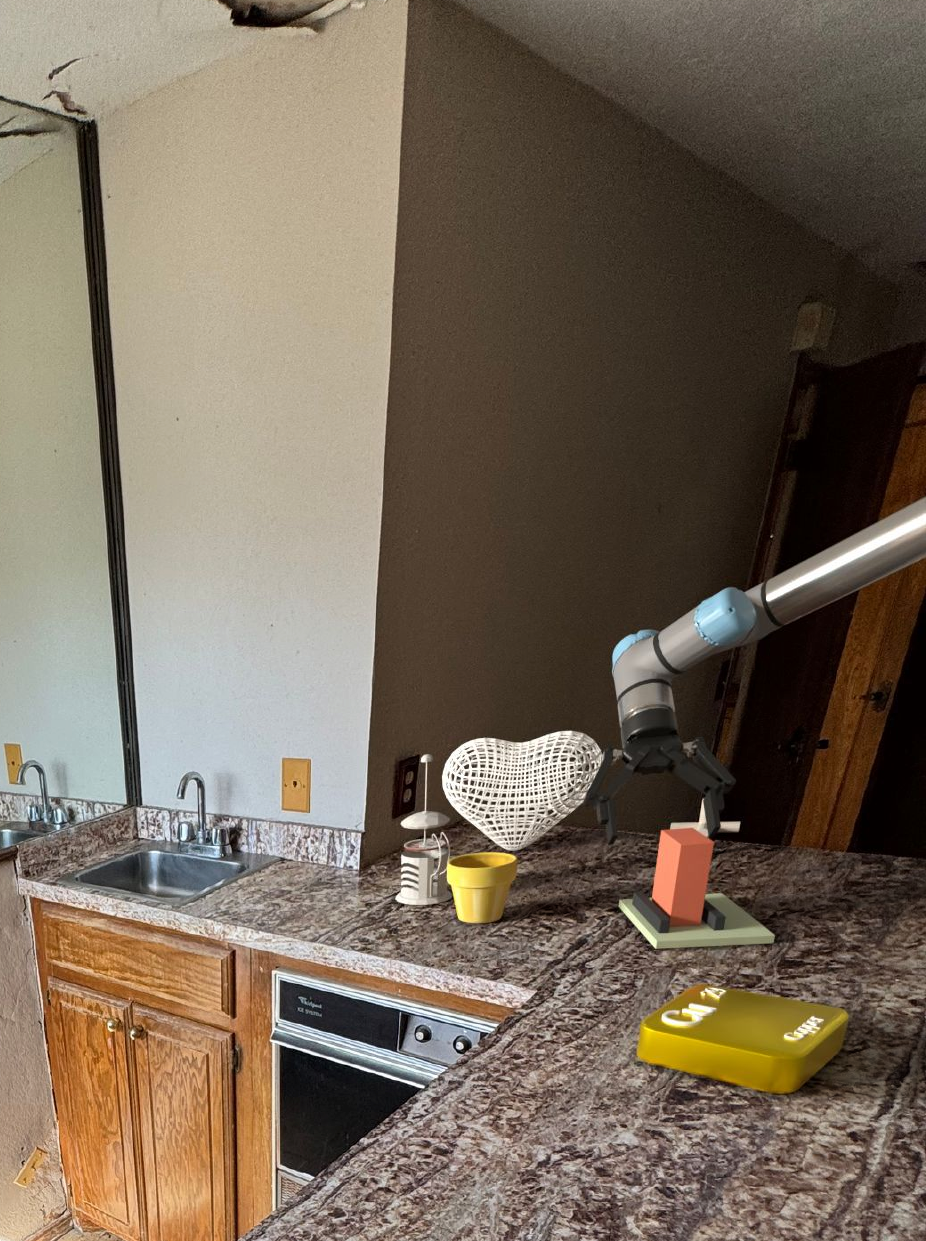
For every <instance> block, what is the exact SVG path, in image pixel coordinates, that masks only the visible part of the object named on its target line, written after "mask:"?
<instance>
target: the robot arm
mask: <svg viewBox="0 0 926 1241" xmlns="http://www.w3.org/2000/svg"><path fill="white" fill-rule="evenodd" d="M925 558H926V496H924V497H922V498H920V499H918V500H916V501H914V502H913V503H911V504H908V505H907V506H905V507H903V508H901V509H898V510H897V511H895V512H894V513H892V514H890V515H888V516H886V517H884V518H882V519H881V520H879V521H877V522H874V523H872V524H871V525H869V526H868V527H865V528H863V529H861V530H860V531H858V532H856V533H854V534H853V535H850V536H849V537H846V538H845V539H842V540H840V541H838V542H837V543H835V544H833V545H832V546H829V547H827V548H826V549H824V550H822V551H820V552H818V553H816V554H814V555H812V556H811V557H808V558H807V559H805V560H803V561H801V562H799V563H797V564H796V565H793V566H792V567H790V568H788V569H786V570H784V571H782V572H780V573H778V574H777V575H775V576H773V577H771V578H769V579H768V580H766V581H763V582H761V583H760V584H758V585H755V586H754V587H752V588H750V589H748V590H746V591H743V590H741V589H738V588H737V587H733V586H730V587H726V588H723V589H721V590H720V591H719V592H717V593H715V594H714V595H712V596H710V597H707V598H706V599H704V600H702V601H701V603H700V604H698V605H697V606H696V607H694V608H693V609H691V610H690V611H688V612H686V613H685V614H684V615H683V616H681V617H680V618H678V619H677V620H676V621H674V622H672V623H671V624H670V625H668V626H667V627H666V628H664V629H663V630H660V631H659V630H655V629H641V630H639V631H638V632H636V633H634V634H632V633H631V634H628V635H627V636H625V637H624V638H622V639H621V640H620V641H619V642H618V644H616V645H615V647H614V649H613V651H612V669H611V674H612V678H613V681H614V689H615V693H616V703H617V714H618V721H619V727H620V738H621V746H622V749H614V748H613V746H606V747H605V748H604V750H603V753H602V757H601V766H600V768H599V770H598V772H597V774H596V776H595V778H594V777H593V778H594V780H593V779H592V780H593V782H592V784H591V786H590V785H589V786H590V788H589V789H588V791H587V793H586V796H585V798H584V801H583V802H582V806H583V807H586V808H587V807H590V806H591V807H593V808H594V811H595V812H596V816H597V822H598V824H599V825H600V826H603V825H604V826H605V830H606V831H605V832H606V839H607V840H606V841H607V845H608V846H613V845H614V844H615V843H616V840H617V838H618V836H619V833H618V825H617V817H616V808H615V800H614V798H613V797H614V796H615V795H616V794H617V793H618V792H619V791H620V790H621V788H623V787H624V785H625V784H626V783H627V782H628V781H630V780H631V778H632V777H633V776H635V774H636V773H637V774H640V776H647V775H651V774H657V775H659V774H664V773H665V772H667V773H668V774H670V775H672V776H677V777H678V778H680V779H681V780H682V781H684V782H686V784H688V785H690V786H691V787H692V788H694V789H696V790H697V791H699V792H700V793H701V794H703V795H704V797H703V798H704V800H703V799H702V800H703V804H704V810H705V817H706V823H707V830H708V836H709V838H711V837H712V838H713V837H716V835H717V833H719V832H718V830H719V829H720V827H721V824H720V822H721V819H720V815H721V814H722V813H723V811H724V810H725V807H726V805H725V800H724V795H727V794H730V792H731V791H732V789H733V788H734V786H735V784H736V783H737V779H736V778H735V777H734V776H733V775H732V774H731V773H730V772H729V771H728V769H727V768H726V767H725V766H724V765H723V764H722V763H721V762H720V761H719V760H718V758H716V756H715V755H714V754H713V753H712V752H711V751H710V750H709V749H708V747H707V744H706V742H705V739H704V737H702V736H696V737H695V738H694V739H693V741H688V742H683V741H681V740H680V738H679V737H680V736H679V728H678V721H677V716H676V708H675V702H674V701H675V700H674V696H673V688H672V680H673V679H675V678H676V677H678V676H680V675H681V674H683V673H685V672H686V671H688V670H689V669H691V668H693V667H694V666H696V665H697V664H700V663H701V662H703V661H704V660H706V659H707V658H709V657H711V656H714V655H716V654H720V653H723V652H725V651H729V650H731V649H734V648H738V647H745V646H749V645H751V644H753V643H755V642H758V641H760V640H762V639H763V638H765V637H767V635H769V634H770V633H772V632H774V631H777V630H778V629H780V628H782V627H784V626H786V625H788V624H790V623H793V622H795V621H797V620H798V619H800V618H802V617H805V616H807V615H809V614H811V613H813V612H815V611H817V610H819V609H822V608H824V607H825V606H827V605H830V604H831V603H834V602H836V601H838V600H840V599H842V598H844V597H847V596H849V595H850V594H853V593H854V592H856V591H859V590H861V589H863V588H865V587H867V586H869V585H871V584H874V583H875V582H877V581H879V580H881V579H883V578H886V577H887V576H889V575H892V574H895V573H896V572H898V571H901V570H903V569H904V568H907V567H908V566H910V565H913V564H915V563H917V562H919V561H921V560H923V559H925ZM682 753H685V754H686V755H687V757H688V758H691V759H692V761H693V762H694V763H695V765H694V764H693V763H692V762H691V761H689V760H688V758H687V757H686V756H685V755H684V754H682ZM618 760H620V761H621V762H623V763H624V764H625V767H624V768H623V769H622V770H621V772H619V773H618V775H617V776H616V777H615V778H614V779H613V780H612V781H611V782H610V783H609V785H608V786H607V787H606V788H605V789H604V790H603V791H602V792H601V793H600V794H599V793H598V791H599V789H600V787H601V785H602V783H603V782H604V779H605V777H606V775H607V774H608V771H609V770H610V767H612V766H613V765H615V764H616V762H617V761H618ZM674 763H675V764H674ZM597 793H598V794H597Z"/></svg>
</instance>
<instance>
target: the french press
mask: <svg viewBox="0 0 926 1241" xmlns="http://www.w3.org/2000/svg"><path fill="white" fill-rule="evenodd" d="M433 761H434V757H433V755H432V754H429V753H426V754H424V755H423V756H422V757H421V758H420V762H421V763H425V784H424V785H425V786H424V787H425V788H424V789H425V790H424V795H425V796H424V810H423V811H419V812H416V813H413V814H412V815H409V816H407V817H406V818H404V819H403V820H401V822H400V826H401V827H402V828H404V829H409V830H424V831H423V832H424V834H423V836H424V837H423V838H421V839H413V840H410V841H407V842H405V843H404V844H403V848H404V849H405V850H404V851H402V852H401V856H400V857H401V858H400V860H401V862H400V863H401V864H400V865H401V866H403V865H404V866H403V867H401V869H400V873H402V874H401V875H400V879H401V880H402V881H401V882H400V886H401V887H402V886H403V887H402V888H400V892H399V893H397V895H395V899H394V900H395V901H397V902H398V903H401V904H404V905H412V906H427V905H434V904H441V903H443V902H444V903H445V902H447V901H449V900H451V899H452V898H453V892H451V891H449V890H448V882H447V863H448V861H449V860H450V859H451V846H450V842H449V838H448V837H447V835H446V833H445V831H441V832H440V836H439V837H438V836H437V835H436V834H435V833H432V834H431V838H427V829H434V828H439V827H443V826H445V825H448V823H449V822H450V821H451V818H450V817H448V816H447V815H445V814H443V813H441V812H437V811H435V810H434V811H430V810H427V804H428V803H427V801H428V799H427V798H428V763H429V762H430V763H431V762H433ZM443 836H444V838H445V840H444V839H443ZM446 845H447V847H448V848H445V847H446ZM435 859H437V861H435ZM435 866H437V868H435ZM403 872H404V873H403ZM434 880H437V881H434Z"/></svg>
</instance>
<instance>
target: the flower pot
mask: <svg viewBox="0 0 926 1241" xmlns="http://www.w3.org/2000/svg"><path fill="white" fill-rule="evenodd" d="M447 861H448V860H447ZM517 873H518V858H517V856H516V855H514V854H510V853H505V852H495V851H494V852H492V851H490V852H489V851H488V852H487V851H485V852H475V853H473V852H472V853H466V854H461V855H458V856H454V857H452V858H450V860H449V861H448V863H447V877H446V878H447V884H449V885H450V886H451V891H452V894H453V895H452V897H453V900H454V905H455V909H456V915H457V919H458V920H459V921H461V922H463V923H466V924H488V923H493V922H497V921H499V920H501V919H502V916H503V913H504V910H505V905H506V902H507V899H508V895H509V892H510V888H511V885H512V883H513V882H514V881H515V880H516V879H517V875H518V874H517Z"/></svg>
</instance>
